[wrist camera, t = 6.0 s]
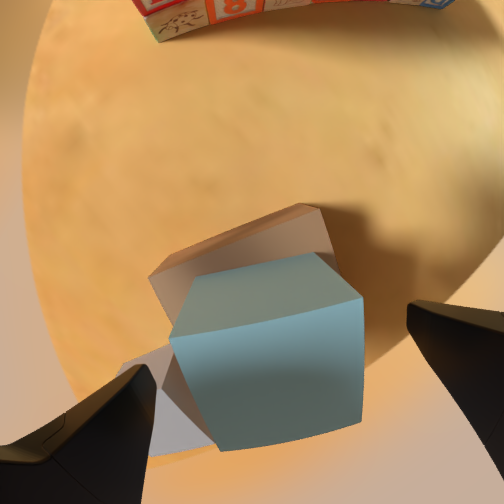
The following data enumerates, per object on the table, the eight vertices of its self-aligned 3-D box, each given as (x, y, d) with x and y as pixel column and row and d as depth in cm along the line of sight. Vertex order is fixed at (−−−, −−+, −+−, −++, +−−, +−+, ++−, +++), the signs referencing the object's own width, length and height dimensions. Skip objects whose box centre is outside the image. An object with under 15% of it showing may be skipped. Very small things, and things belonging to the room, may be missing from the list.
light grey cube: (178, 338, 15) (161, 388, 11) (218, 391, 16) (215, 443, 12) (123, 362, 15) (98, 408, 11) (164, 409, 16) (151, 456, 12)
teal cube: (313, 252, 10) (363, 297, 6) (325, 350, 11) (361, 421, 7) (195, 276, 10) (168, 338, 6) (224, 371, 11) (220, 451, 7)
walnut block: (297, 202, 14) (319, 208, 10) (335, 317, 15) (361, 354, 12) (171, 253, 14) (147, 277, 10) (224, 359, 16) (221, 404, 12)
